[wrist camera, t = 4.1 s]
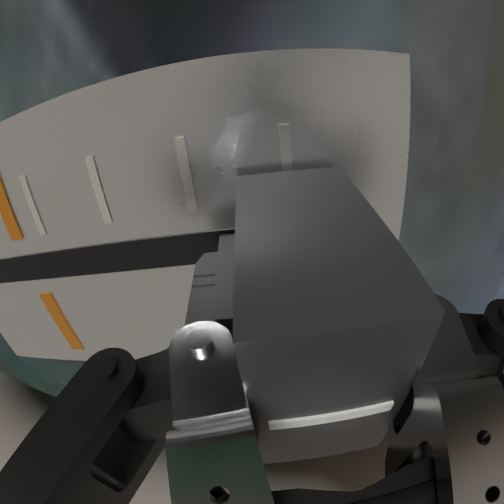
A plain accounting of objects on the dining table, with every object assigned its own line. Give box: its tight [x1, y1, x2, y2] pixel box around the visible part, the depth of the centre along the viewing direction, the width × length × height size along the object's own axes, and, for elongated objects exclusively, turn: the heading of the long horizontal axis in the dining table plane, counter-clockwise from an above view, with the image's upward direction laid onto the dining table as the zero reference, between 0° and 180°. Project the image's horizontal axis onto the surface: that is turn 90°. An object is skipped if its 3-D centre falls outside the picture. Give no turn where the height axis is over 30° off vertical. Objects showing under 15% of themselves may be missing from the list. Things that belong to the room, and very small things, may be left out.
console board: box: [0, 49, 410, 361], centre depth 12 cm, size 20×12×2 cm, turn 96°
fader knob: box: [233, 167, 445, 464], centre depth 8 cm, size 3×5×6 cm, turn 6°
